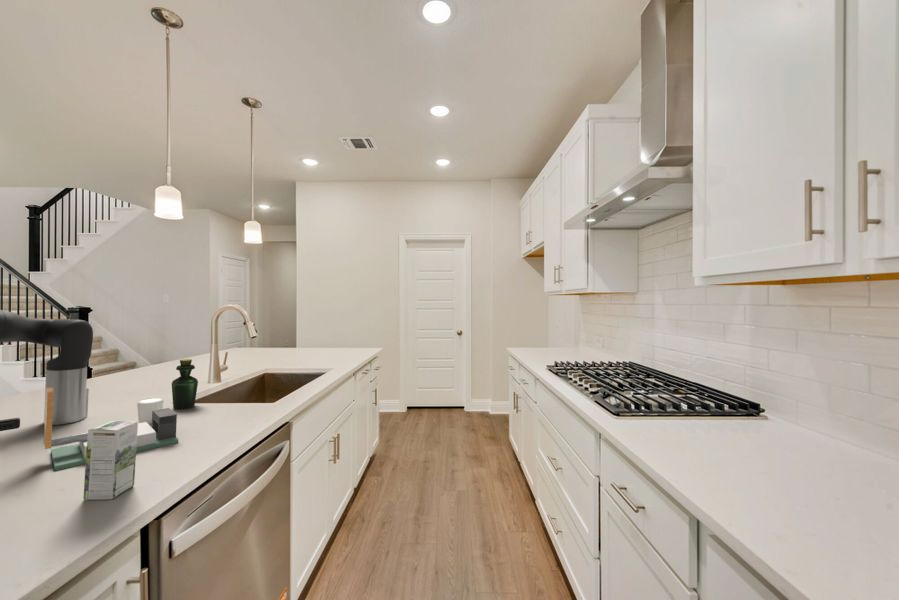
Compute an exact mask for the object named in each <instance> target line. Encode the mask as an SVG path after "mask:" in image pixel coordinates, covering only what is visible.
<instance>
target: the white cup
mask: <svg viewBox="0 0 899 600" xmlns="http://www.w3.org/2000/svg"><path fill="white" fill-rule="evenodd" d="M164 399H165V398H162V397H153V398H152V397H150V398H145V399H141V400H137V402H136V404H137V418H138V423H143V422H147V423H148V424H149V425H151V424H152V411H154V410H160V409H163V407H164Z"/></svg>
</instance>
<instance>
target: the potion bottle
mask: <svg viewBox="0 0 899 600" xmlns="http://www.w3.org/2000/svg"><path fill="white" fill-rule="evenodd" d="M192 361H193V359H192V358H182V359H181V358H180V359H179V363H180V364H179V365H178V366H176V368H175V370H177V371H179V377H177V378H175V379H173V381H172V382H171V394H172V396H171V397H172V408H173V409H174V410H187V409H192V408H193V407H195V405H196V399H197V394H198V393H197V392H198V384H199V381H198V379H197V377H194V376H192V375H191V373H192V370H194V369H196V367H195V365H194V364H192Z"/></svg>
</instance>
